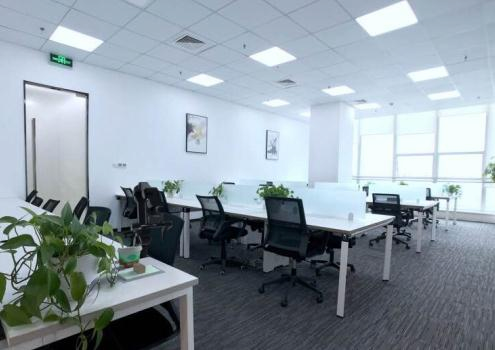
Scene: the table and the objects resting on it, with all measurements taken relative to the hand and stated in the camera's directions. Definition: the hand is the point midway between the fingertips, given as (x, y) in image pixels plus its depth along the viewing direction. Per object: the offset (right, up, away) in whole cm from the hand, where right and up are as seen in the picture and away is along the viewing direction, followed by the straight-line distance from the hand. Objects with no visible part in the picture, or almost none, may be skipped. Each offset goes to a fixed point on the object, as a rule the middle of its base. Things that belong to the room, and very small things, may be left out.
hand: (152, 243), depth 133 cm
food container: (-12, -13, +5) cm, 19 cm away
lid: (-5, -13, -4) cm, 14 cm away
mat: (-5, -13, -4) cm, 15 cm away
